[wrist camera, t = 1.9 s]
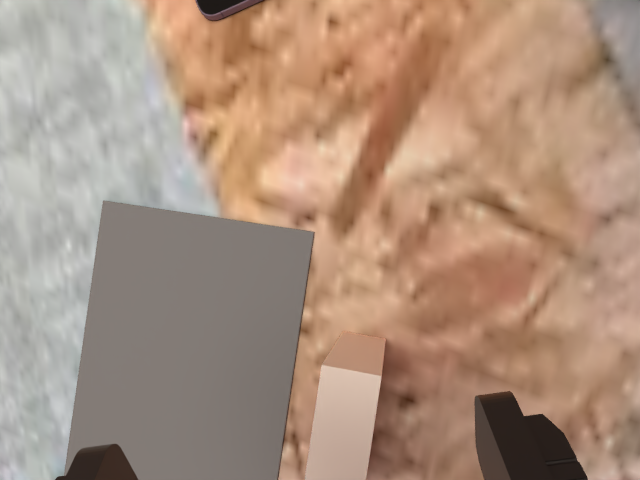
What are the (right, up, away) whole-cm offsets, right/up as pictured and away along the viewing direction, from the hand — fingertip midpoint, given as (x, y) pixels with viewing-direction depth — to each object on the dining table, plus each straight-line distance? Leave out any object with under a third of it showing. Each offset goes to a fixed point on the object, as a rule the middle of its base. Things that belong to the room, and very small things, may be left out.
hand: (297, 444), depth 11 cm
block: (+3, -6, +24) cm, 25 cm away
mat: (-9, -5, +25) cm, 27 cm away
